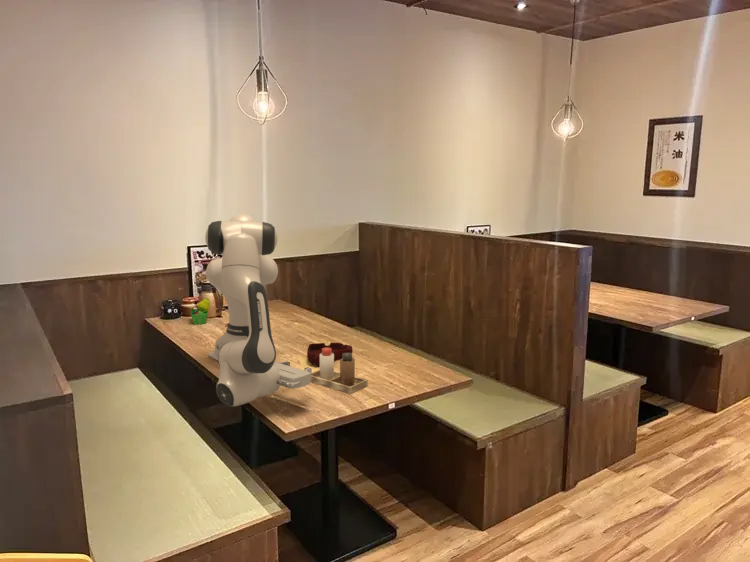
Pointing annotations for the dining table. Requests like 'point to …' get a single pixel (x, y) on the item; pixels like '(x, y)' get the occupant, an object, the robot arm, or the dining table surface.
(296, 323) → the dining table surface
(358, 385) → the caddy
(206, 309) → the fruit basket
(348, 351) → the ashtray
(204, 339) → the dining table surface
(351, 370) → the brown soy bottle
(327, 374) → the white shaker
